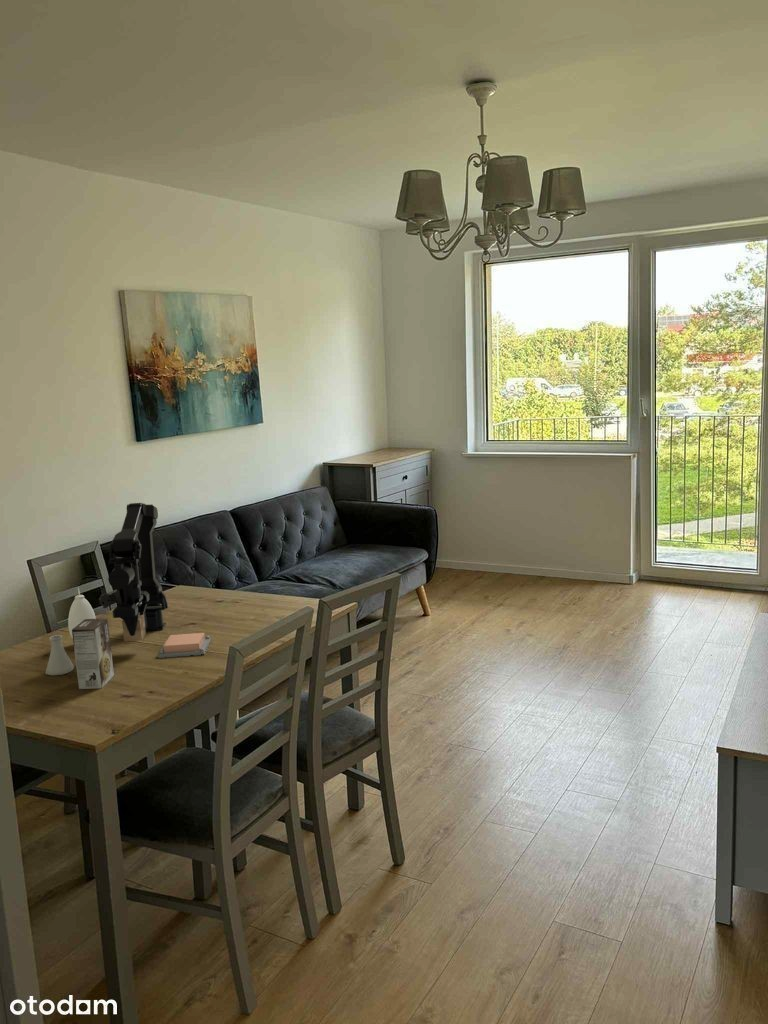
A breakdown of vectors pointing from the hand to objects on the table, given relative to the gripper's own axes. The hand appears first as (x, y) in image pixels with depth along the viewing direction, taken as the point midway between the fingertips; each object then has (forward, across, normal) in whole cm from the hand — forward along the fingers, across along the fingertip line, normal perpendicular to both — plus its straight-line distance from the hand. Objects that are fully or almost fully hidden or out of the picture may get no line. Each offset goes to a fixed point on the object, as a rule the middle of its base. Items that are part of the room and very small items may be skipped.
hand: (134, 632), depth 237 cm
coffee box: (+6, +23, -5) cm, 24 cm away
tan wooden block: (+2, 0, 0) cm, 2 cm away
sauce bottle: (+6, -11, -18) cm, 22 cm away
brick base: (+6, 0, +14) cm, 15 cm away
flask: (+6, +12, -18) cm, 23 cm away
